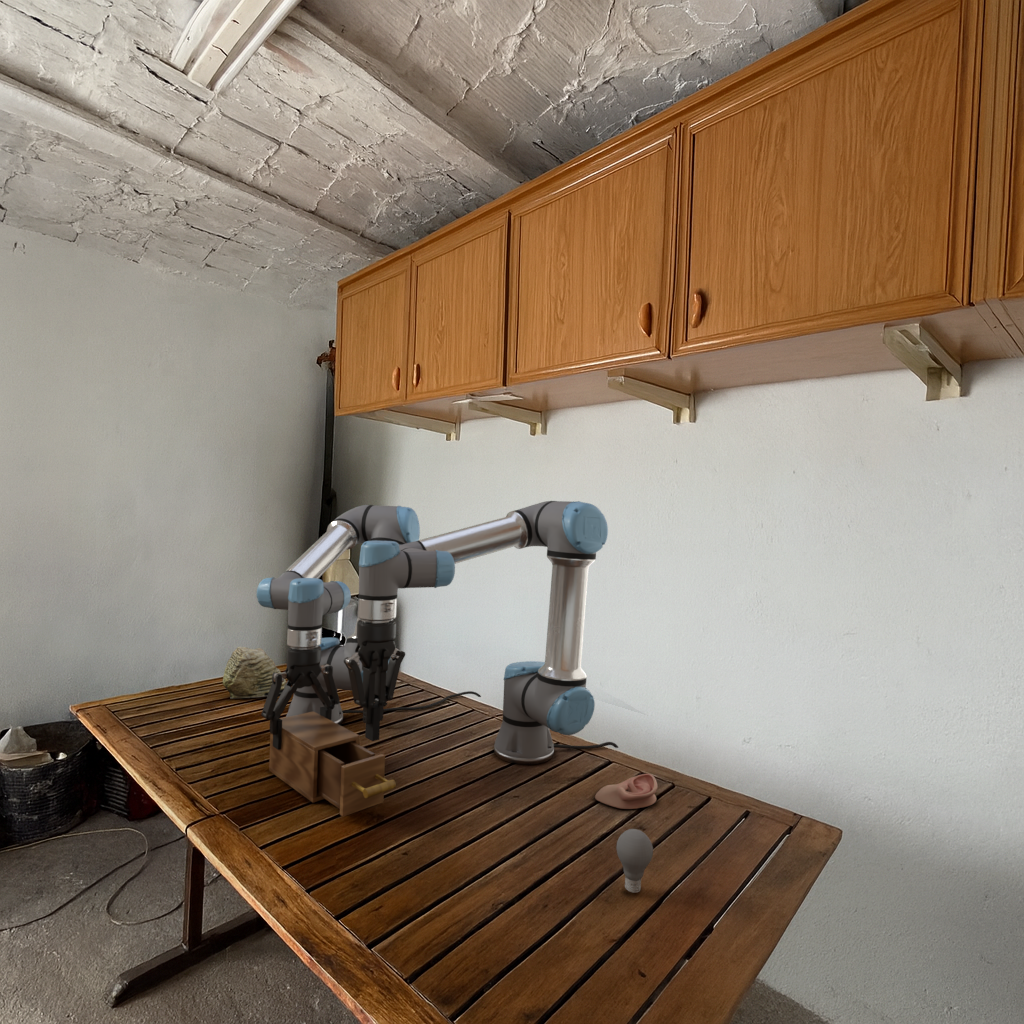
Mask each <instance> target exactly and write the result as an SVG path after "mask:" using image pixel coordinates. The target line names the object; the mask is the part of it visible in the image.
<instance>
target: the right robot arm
mask: <svg viewBox="0 0 1024 1024" xmlns="http://www.w3.org/2000/svg"><path fill="white" fill-rule="evenodd" d="M608 535H609V526H608V522H607V518H606V517H605V515H604V514H603V512H602V511H601V510H600V508H599V507H598V506H596V505H595V504H592V503H589V502H583V501H579V500H578V501H575V500H574V501H570V500H569V501H567V500H565V501H564V500H561V501H560V500H547V501H542V502H538V503H534V504H531V505H528V506H525V507H522V508H519V509H516V510H515V509H514V510H512V511H509V512H508V513H507V514H506V515H505V516H503V517H501V518H497V519H493V520H489V521H485V522H482V523H478V524H475V525H471V526H467V527H463V528H459V529H455V530H452V531H448V532H444V533H440V534H437V535H433V536H430V537H426V538H422V539H419V540H418V541H415V542H410V543H406V544H403V545H400V544H398V543H397V542H394V541H366V542H364V543H361V546H360V552H359V561H358V570H359V571H358V597H357V612H356V613H357V615H356V616H357V618H359V619H360V620H359V621H358V622H357V621H356V622H357V641H358V644H357V647H356V649H355V653H354V654H353V655H352V656H351V657H350V658H347V657H346V658H345V659H344V663H345V665H346V667H347V668H348V671H349V677H350V682H351V688H352V691H351V693H352V699H353V703H354V704H355V705H357V706H360V707H361V708H362V710H363V713H362V722H363V723H364V724H365V733H364V737H365V738H366V739H367V740H369V741H371V742H375V741H379V740H380V729H381V722H382V721H383V720H384V712H383V709H384V708H385V707H386V706H388V701H389V702H390V701H392V700H393V698H394V695H395V690H396V685H397V682H398V677H399V673H400V668H401V664H402V662H403V660H404V659H405V657H406V651H403V650H400V649H398V648H397V646H396V642H395V639H396V635H397V621H396V620H395V619H396V618H397V608H398V591H399V589H417V588H418V589H419V588H420V589H421V588H434V589H436V588H439V587H448V586H449V585H451V584H452V583H453V580H454V578H455V574H456V564H459V563H463V562H466V561H470V560H473V559H476V558H480V557H483V556H486V555H491V554H493V553H496V552H500V551H503V550H507V549H510V548H511V549H512V548H515V549H517V550H521V549H525V548H529V547H544V548H546V558H547V559H548V560H549V561H550V562H551V579H550V593H549V607H548V617H547V618H548V619H547V632H546V641H545V642H546V643H545V655H544V656H545V657H544V661H538V660H537V661H535V660H534V661H533V660H529V661H516V662H512V663H509V664H507V665H506V667H505V670H504V676H503V701H502V702H503V704H502V721H501V725H500V727H499V730H498V733H497V735H496V738H495V741H494V745H493V752H494V754H495V756H496V757H497V758H499V759H500V760H502V761H505V762H508V763H510V764H511V763H512V764H516V765H538V764H543V763H547V762H549V761H551V760H552V759H553V757H554V755H555V748H559V749H570V750H591V749H599V748H603V747H607V746H612V747H614V748H615V749H618V748H619V746H618V745H617V744H616V743H615V742H613V741H605V742H602V743H598V744H591V745H571V744H570V745H569V744H559V743H554V740H553V738H552V734H551V731H552V732H554V733H558V734H559V735H563V736H572V735H573V736H574V735H575V734H578V733H579V732H581V731H582V730H584V728H585V727H586V726H587V725H588V724H589V723H590V721H591V719H592V717H593V715H594V712H595V706H596V703H595V697H594V695H593V694H592V693H591V691H590V690H589V689H588V688H587V678H588V677H587V673H586V672H585V671H584V669H583V668H582V657H583V646H584V631H585V617H586V606H587V605H586V604H587V592H588V579H589V568H590V566H591V565H592V564H593V563H595V562H596V559H597V553H598V552H599V551H601V550H602V549H603V546H604V545H606V542H607V540H608ZM390 657H391V658H390ZM389 659H390V660H389ZM359 660H360V661H361V663H362V670H363V683H362V677H361V672H360V668H359V665H360V663H359ZM388 661H389V663H388ZM386 671H387V672H386Z"/></svg>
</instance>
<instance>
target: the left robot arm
mask: <svg viewBox="0 0 1024 1024" xmlns="http://www.w3.org/2000/svg"><path fill="white" fill-rule="evenodd" d="M420 534H421V527H420V520H419V517H418V515H417V512H416V510H414V509H413V508H412V507H409V506H401V505H381V504H380V505H379V504H377V505H376V504H363V505H358V506H356V507H352V508H351V509H348V510H347V511H345V512H343V513H342V514H340V515H339V516H337V517H336V518H335V519H334V520H332V521H331V522H330V523H329V524H328V525H327V528H326V532H325V533H323V534H322V536H320V537H319V538H318V539H317V540H316V541H315V542H314V543H313V544H312V545H311V546H310V547H309V548H308V549H307V550H306V551H305V552H304V553H302V554H301V555H300V556H299V557H298V558H297V559H296V560H294V562H293V563H292V564H290V565H289V566H288V568H287V569H285V570H284V571H283V573H281V574H280V575H279V576H278V577H274V576H272V577H266V578H263V579H261V580H260V582H259V584H258V585H257V587H256V599H257V602H258V604H259V605H260V606H261V607H263V608H268V609H273V610H284V611H288V612H287V614H288V615H287V617H288V618H287V620H288V622H287V632H286V633H287V635H286V636H287V637H286V640H287V641H286V645H287V646H288V647H287V648H286V660H285V661H286V668H285V671H283V672H281V673H276V672H274V673H273V674H272V684H271V687H270V690H269V693H268V696H266V699H265V702H264V705H263V708H262V711H261V715H260V716H261V717H262V718H264V719H265V720H269V734H270V733H271V734H272V735H273V747H275V748H276V749H277V750H280V749H281V743H282V720H281V719H282V718H281V716H282V714H283V712H284V710H285V709H286V707H287V706H288V711H287V713H286V715H285V718H286V717H290V716H295V715H299V714H304V713H308V712H313V711H314V712H316V713H318V714H319V715H321V716H323V717H325V718H327V719H329V720H331V721H333V722H335V723H337V724H339V725H340V726H341V725H342V723H343V722H344V714H363V709H362V710H361V709H346V710H345V709H342V706H341V701H340V697H339V694H338V690H344V691H351V692H352V688H351V682H350V677H349V671H348V668H347V667H346V665H345V663H344V659H345V658H346V657H347V658H350V657H351V656H352V655H353V654H354V653H355V649H356V647H357V644H358V641H357V622H358V621H359V620H360V619H359V618H358V617H357V619H356V623H355V627H354V632H353V633H352V634H350V635H349V636H347V638H346V641H345V645H341V641H340V639H339V638H338V637H323V635H322V634H323V633H322V632H323V617H324V616H327V615H331V614H336V613H338V612H340V611H342V610H344V609H346V608H347V607H348V606H349V604H350V602H351V598H352V594H351V589H350V588H349V586H348V585H347V584H346V583H345V582H343V581H340V580H336V581H334V580H330V581H328V582H327V581H324V580H322V579H320V578H321V576H323V575H324V573H326V572H327V571H328V569H329V568H330V567H331V566H332V565H333V564H334V563H335V562H336V561H337V560H338V559H339V558H340V557H341V556H342V555H343V554H344V553H345V552H346V551H348V550H352V549H354V547H355V546H356V545H360V544H363V543H364V542H366V541H394V542H397V543H398V544H400V545H403V544H406V543H410V542H415V541H418V540H420ZM390 658H391V657H390ZM389 660H390V659H389ZM359 663H360V665H359V668H360V672H361V677H362V683H363V670H362V663H361V661H360V660H359ZM388 663H389V661H388ZM386 672H387V671H386ZM284 679H285V680H286V684H285V686H284V690H283V692H282V693H280V690H281V686H282V682H284ZM279 693H280V694H279ZM464 695H473V696H474V695H475V696H476V697H478V698H481V697H482V695H481V694H479V693H478V692H476V691H473V690H472V691H471V690H468V691H463V692H458V693H455V694H454V693H453V694H449V695H447V696H445V697H444V698H442V699H440V700H438V701H436V702H433V703H430V704H427V705H422V706H412V707H410V706H408V707H407V706H405V707H403V706H402V707H389V708H383V713H386V712H394V711H417V710H418V711H419V710H424V709H425V710H426V709H430V708H432V707H434V706H437V705H439V704H442V703H444V702H445V701H447V700H449V699H451V698H455V697H460V696H464ZM292 696H293V697H292ZM291 698H292V699H291ZM290 700H291V702H290ZM289 702H290V703H289ZM288 703H289V705H288Z"/></svg>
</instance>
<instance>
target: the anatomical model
mask: <svg viewBox="0 0 1024 1024" xmlns="http://www.w3.org/2000/svg"><path fill="white" fill-rule="evenodd" d="M657 791H658V782H657V779H656V777H655V776H654V775H653V774H651V773H642V774H639V775H635V776H632V777H630V778H628V779H626V780H624V781H622V782H620V783H616V784H607V785H605V786H602V787H601V788H600V789H599V790H598V791H596V793H595V795H594V798H595V800H596V801H597V802H599V803H602V804H604V805H607V806H610V807H613V808H617V809H621V810H632V809H640V808H646V807H650V806H652V805H654V804H655V803H656V802H657V796H656V792H657Z"/></svg>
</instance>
